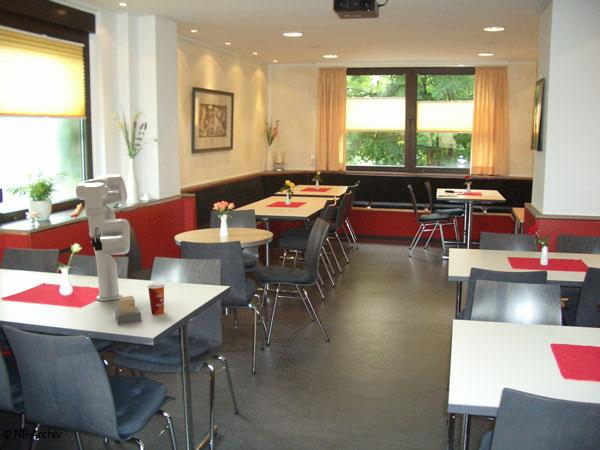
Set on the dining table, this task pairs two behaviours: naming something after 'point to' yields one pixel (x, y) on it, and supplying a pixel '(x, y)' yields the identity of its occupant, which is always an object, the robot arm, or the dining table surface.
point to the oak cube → (126, 304)
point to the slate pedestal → (128, 316)
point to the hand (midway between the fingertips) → (97, 248)
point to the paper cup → (156, 297)
